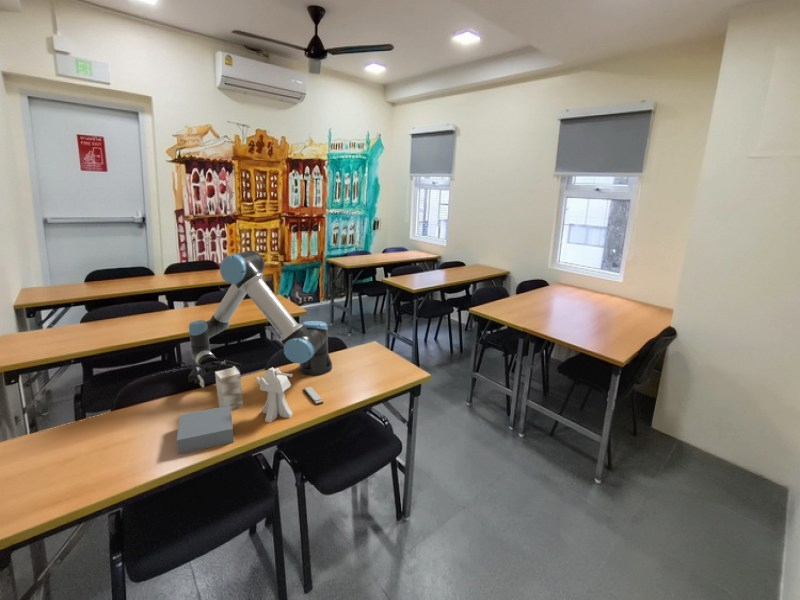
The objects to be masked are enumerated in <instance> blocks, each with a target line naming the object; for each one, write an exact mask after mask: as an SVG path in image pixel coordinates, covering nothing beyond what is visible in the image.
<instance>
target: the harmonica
mask: <svg viewBox="0 0 800 600" xmlns="http://www.w3.org/2000/svg"><path fill="white" fill-rule="evenodd" d="M302 389H303V391H304V392H305V394H306V395H307V396H308V397H309V398H310V400H311V401H312V403H314V405H315V406H320V405H323V404H324V401H323V400H322V398H321V396H320V395H319V394H318V393H317V391H315V389H314V388H313V387H312V386H308V387H304V388H302Z"/></svg>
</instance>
